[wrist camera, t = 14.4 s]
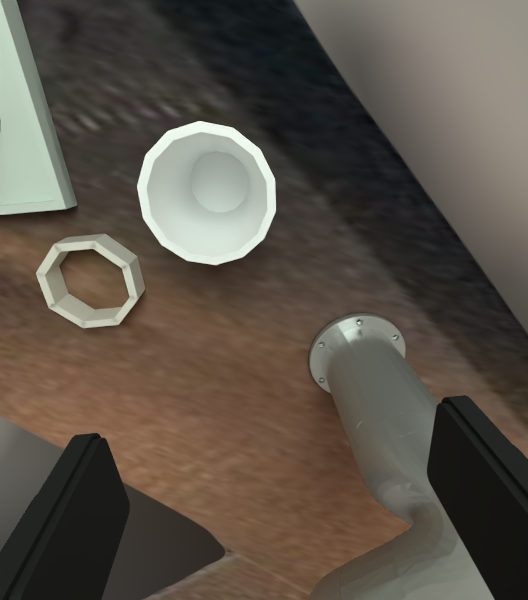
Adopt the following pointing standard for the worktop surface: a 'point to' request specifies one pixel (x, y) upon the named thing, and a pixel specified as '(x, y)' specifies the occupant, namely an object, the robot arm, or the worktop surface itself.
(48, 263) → the collar
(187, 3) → the worktop surface
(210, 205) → the foam cup
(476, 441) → the robot arm
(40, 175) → the tray
